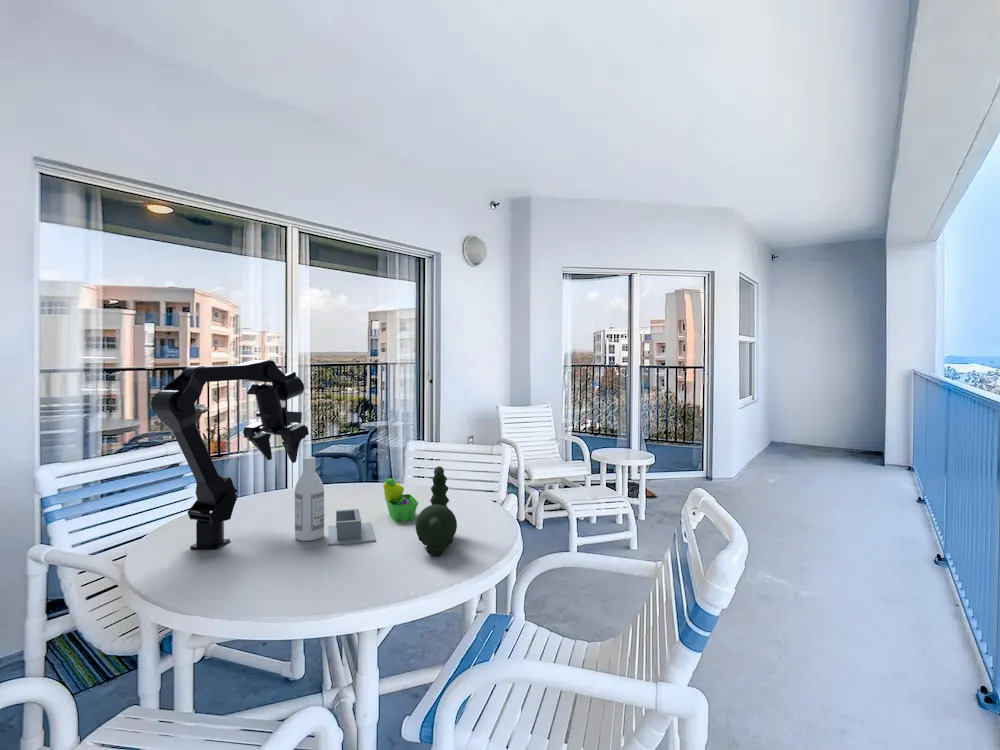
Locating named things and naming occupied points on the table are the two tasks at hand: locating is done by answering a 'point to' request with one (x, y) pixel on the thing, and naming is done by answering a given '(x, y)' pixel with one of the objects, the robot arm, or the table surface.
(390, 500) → the fruit basket
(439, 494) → the dark green ornament
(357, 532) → the gray square holder
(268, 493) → the table surface
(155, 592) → the table surface
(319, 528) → the bath foam
